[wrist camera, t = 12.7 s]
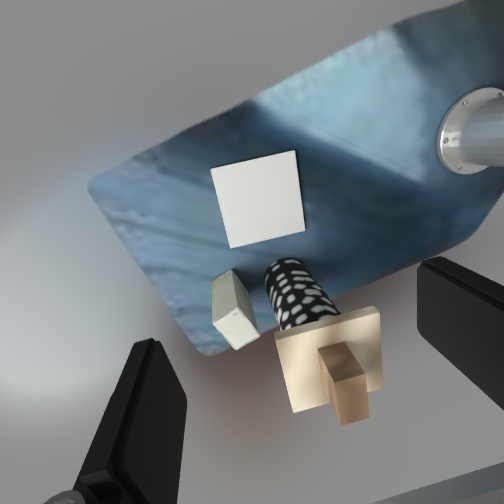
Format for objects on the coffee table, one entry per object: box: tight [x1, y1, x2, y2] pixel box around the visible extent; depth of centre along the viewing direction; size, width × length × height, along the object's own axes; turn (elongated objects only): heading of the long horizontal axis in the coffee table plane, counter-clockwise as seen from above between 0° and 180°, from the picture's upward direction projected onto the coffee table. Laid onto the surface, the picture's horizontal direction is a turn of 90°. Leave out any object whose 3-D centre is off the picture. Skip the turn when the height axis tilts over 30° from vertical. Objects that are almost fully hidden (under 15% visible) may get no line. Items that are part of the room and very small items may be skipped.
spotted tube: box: [264, 258, 341, 331], centre depth 40 cm, size 8×8×20 cm
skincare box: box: [212, 270, 260, 350], centre depth 43 cm, size 6×4×12 cm
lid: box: [274, 306, 383, 426], centre depth 28 cm, size 11×11×6 cm
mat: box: [211, 150, 305, 248], centre depth 43 cm, size 13×13×1 cm
